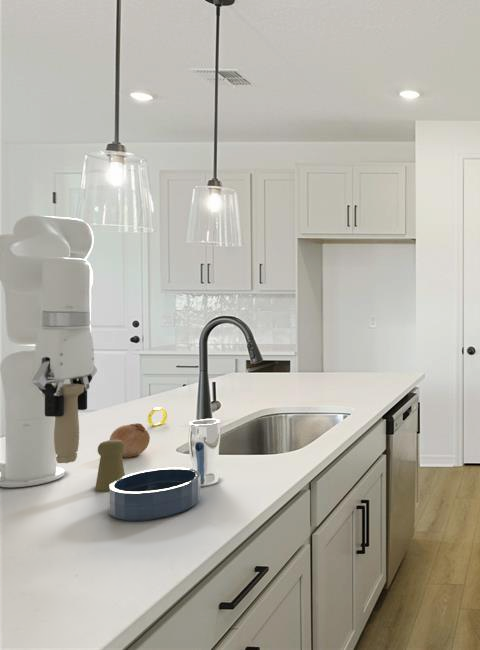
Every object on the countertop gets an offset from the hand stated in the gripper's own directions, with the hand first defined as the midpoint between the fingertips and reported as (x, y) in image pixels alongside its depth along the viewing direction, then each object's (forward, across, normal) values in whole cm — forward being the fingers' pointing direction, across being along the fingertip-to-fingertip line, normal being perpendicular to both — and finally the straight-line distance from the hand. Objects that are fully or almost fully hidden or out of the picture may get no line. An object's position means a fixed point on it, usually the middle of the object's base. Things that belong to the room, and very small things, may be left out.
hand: (66, 411), depth 111 cm
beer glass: (+23, -27, +13) cm, 38 cm away
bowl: (+23, -11, +11) cm, 28 cm away
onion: (+23, -48, -19) cm, 57 cm away
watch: (+23, -84, -33) cm, 93 cm away
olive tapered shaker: (+23, -23, -7) cm, 33 cm away
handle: (+10, 0, 0) cm, 10 cm away
